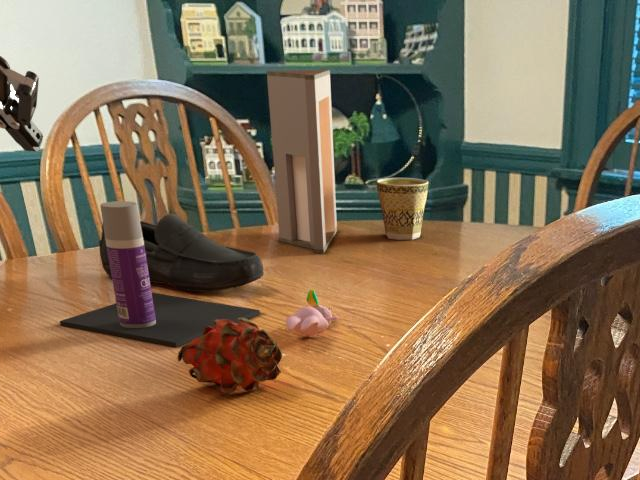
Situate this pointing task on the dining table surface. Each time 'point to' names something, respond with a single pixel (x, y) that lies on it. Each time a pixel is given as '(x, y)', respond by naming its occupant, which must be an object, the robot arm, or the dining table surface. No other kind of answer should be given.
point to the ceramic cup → (402, 206)
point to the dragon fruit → (233, 355)
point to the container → (128, 264)
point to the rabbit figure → (311, 317)
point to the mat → (163, 320)
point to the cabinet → (303, 156)
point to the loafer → (191, 258)
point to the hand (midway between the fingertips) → (34, 144)
